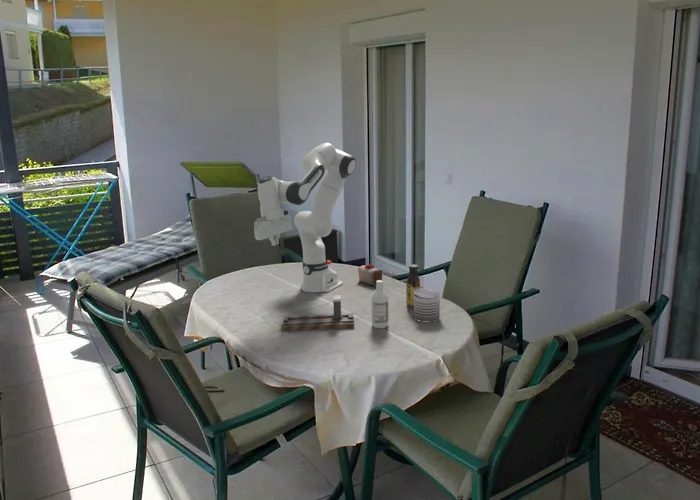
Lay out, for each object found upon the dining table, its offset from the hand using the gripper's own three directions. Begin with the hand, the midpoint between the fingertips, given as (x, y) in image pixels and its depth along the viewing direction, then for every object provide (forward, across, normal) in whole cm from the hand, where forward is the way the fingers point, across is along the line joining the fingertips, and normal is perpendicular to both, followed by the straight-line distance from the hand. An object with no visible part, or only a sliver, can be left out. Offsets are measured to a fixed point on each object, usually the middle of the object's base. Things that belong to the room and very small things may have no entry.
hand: (275, 244), depth 282 cm
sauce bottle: (+37, +40, -44) cm, 69 cm away
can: (+37, +31, -56) cm, 74 cm away
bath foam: (+36, +11, -45) cm, 58 cm away
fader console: (+33, -2, -22) cm, 40 cm away
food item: (+36, +58, -6) cm, 68 cm away
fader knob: (+32, +3, -28) cm, 43 cm away
